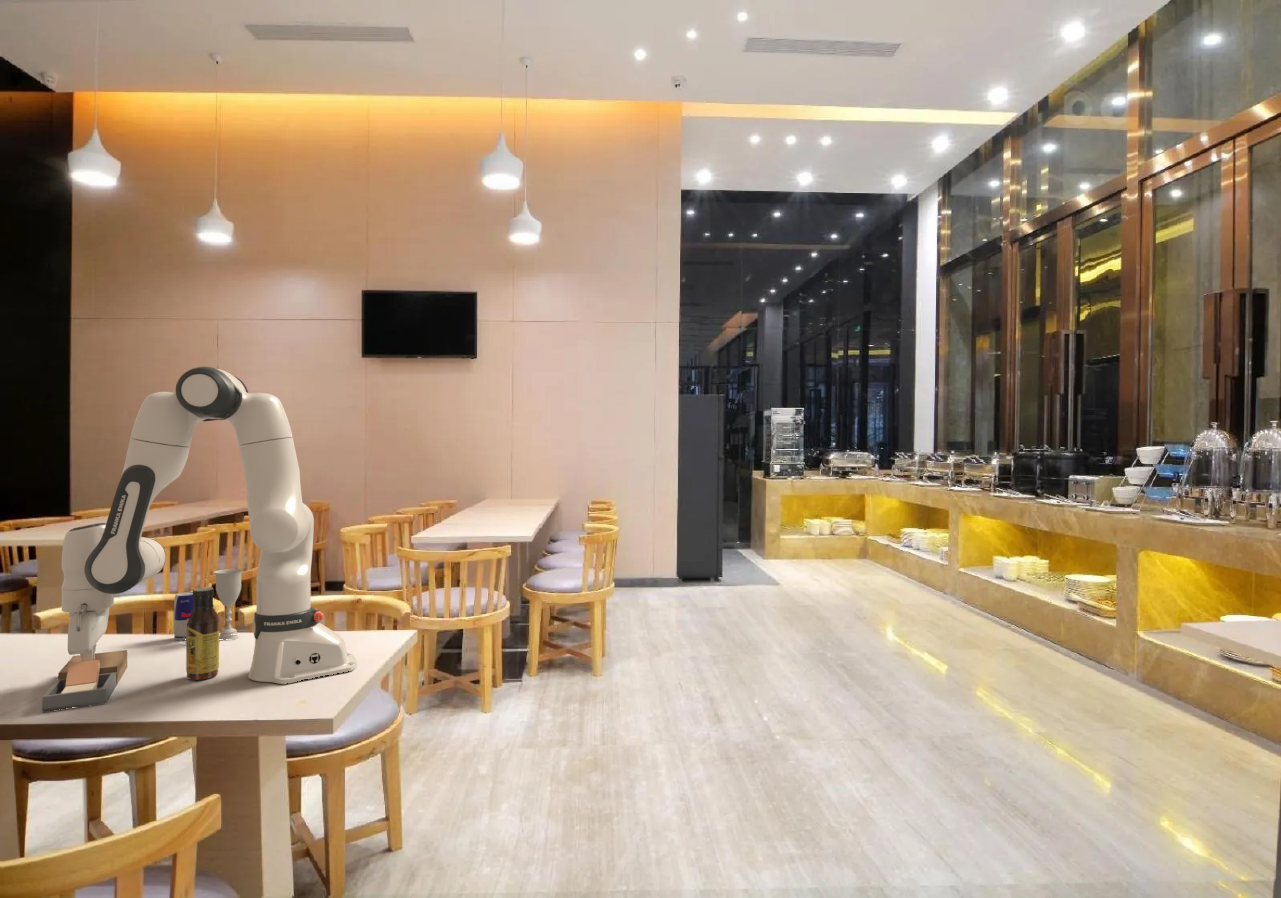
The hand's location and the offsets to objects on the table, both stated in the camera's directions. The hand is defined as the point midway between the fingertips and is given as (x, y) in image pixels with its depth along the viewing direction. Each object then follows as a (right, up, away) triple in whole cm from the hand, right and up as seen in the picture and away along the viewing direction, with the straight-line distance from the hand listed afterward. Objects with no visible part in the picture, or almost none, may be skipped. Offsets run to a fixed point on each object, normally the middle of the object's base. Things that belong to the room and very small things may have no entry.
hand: (88, 664), depth 152 cm
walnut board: (-3, -5, +6) cm, 8 cm away
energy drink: (-4, -5, +39) cm, 40 cm away
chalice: (+7, -5, +40) cm, 41 cm away
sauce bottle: (+20, -5, +7) cm, 22 cm away
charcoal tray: (+4, -5, -7) cm, 9 cm away
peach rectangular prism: (+1, -2, -3) cm, 4 cm away
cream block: (+4, -2, -8) cm, 9 cm away
